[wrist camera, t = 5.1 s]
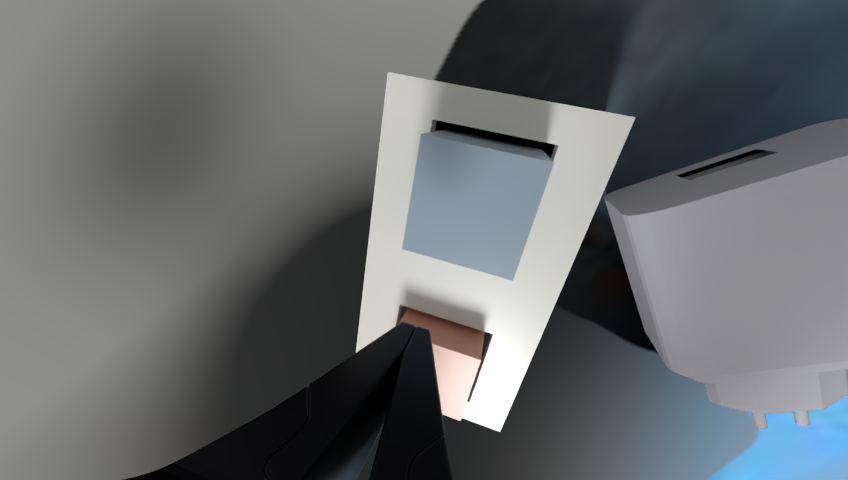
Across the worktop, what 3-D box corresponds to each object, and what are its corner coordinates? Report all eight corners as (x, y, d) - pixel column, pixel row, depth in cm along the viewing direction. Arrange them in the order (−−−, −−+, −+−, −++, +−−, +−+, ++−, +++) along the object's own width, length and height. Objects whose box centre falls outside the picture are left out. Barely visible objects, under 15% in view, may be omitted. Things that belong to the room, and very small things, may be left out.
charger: (662, 398, 21) (599, 193, 17) (855, 378, 17) (826, 117, 14) (701, 471, 16) (628, 218, 13) (968, 465, 13) (968, 117, 9)
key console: (502, 376, 23) (500, 431, 19) (379, 334, 25) (353, 377, 21) (603, 117, 16) (635, 117, 12) (417, 82, 17) (387, 71, 13)
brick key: (470, 363, 21) (460, 420, 17) (407, 341, 22) (383, 392, 18) (487, 309, 19) (481, 360, 15) (418, 288, 20) (394, 331, 16)
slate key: (513, 239, 16) (513, 280, 12) (428, 217, 17) (402, 249, 13) (542, 149, 14) (554, 162, 10) (445, 129, 15) (421, 133, 11)
